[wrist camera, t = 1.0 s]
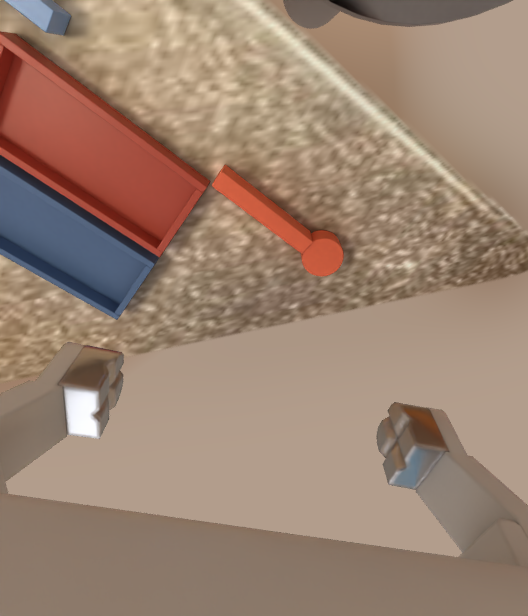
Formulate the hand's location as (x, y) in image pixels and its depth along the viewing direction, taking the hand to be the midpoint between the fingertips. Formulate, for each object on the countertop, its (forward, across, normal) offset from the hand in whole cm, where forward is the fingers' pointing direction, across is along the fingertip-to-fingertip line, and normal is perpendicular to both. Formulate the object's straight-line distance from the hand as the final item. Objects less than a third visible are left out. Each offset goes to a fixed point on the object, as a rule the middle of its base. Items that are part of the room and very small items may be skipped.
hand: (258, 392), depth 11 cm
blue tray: (+23, +17, +8) cm, 30 cm away
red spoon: (+23, -2, +2) cm, 24 cm away
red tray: (+23, +14, 0) cm, 27 cm away
